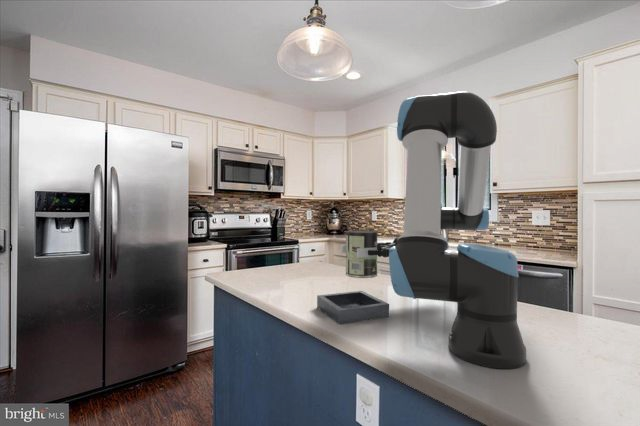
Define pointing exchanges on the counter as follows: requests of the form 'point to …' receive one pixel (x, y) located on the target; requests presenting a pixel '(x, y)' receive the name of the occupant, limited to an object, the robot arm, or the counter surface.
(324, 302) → the tray
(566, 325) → the counter surface
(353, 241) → the coffee can
